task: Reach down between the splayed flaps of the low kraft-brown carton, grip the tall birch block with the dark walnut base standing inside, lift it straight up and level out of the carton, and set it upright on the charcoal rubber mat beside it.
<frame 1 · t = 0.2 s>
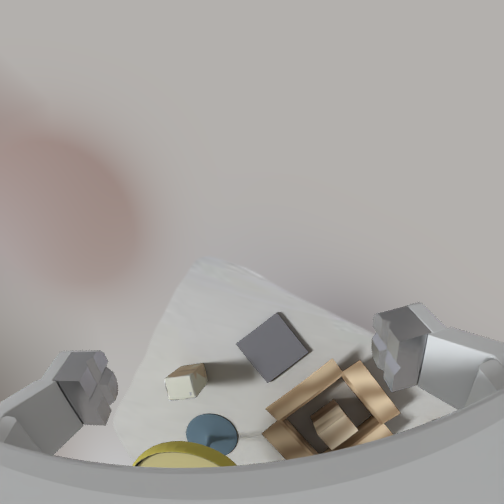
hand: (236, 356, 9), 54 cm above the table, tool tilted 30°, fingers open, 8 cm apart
box: (194, 374, 60), on the table
mat: (272, 347, 61), on the table
block: (332, 423, 53), in the carton
cocktail glass: (211, 435, 58), on the table
carton: (328, 415, 58), on the table
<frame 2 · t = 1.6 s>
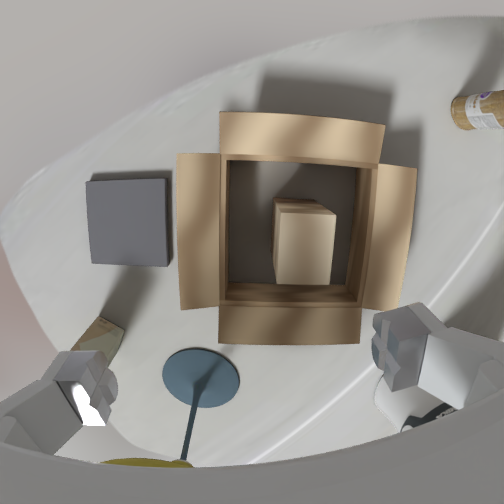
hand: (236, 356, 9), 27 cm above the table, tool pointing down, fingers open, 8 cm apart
box: (107, 335, 40), on the table
mat: (127, 221, 35), on the table
block: (298, 235, 31), in the carton
cocktail glass: (200, 379, 42), on the table
carton: (292, 225, 35), on the table
sprinkles bottle: (461, 114, 31), on the table
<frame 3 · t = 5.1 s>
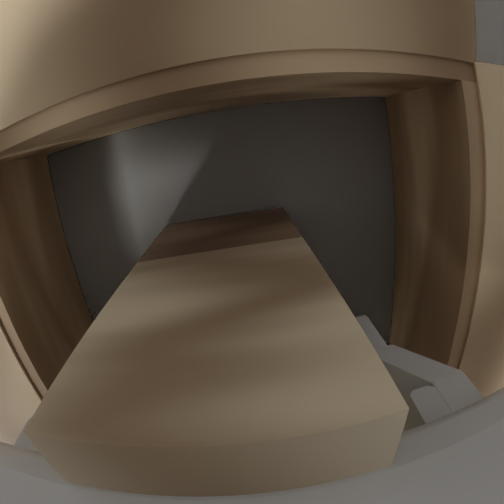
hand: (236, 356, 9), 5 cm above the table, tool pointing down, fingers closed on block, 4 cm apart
block: (236, 364, 8), in the carton, touching gripper
carton: (236, 287, 13), on the table
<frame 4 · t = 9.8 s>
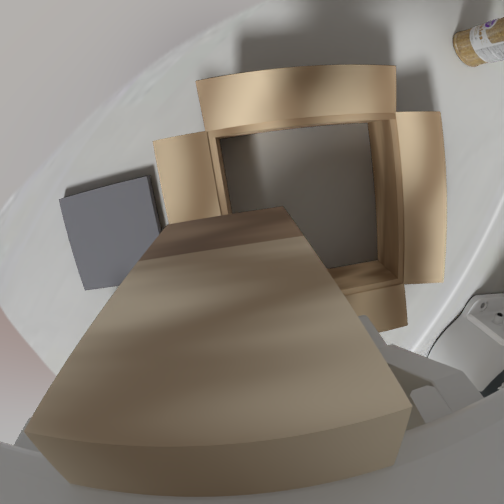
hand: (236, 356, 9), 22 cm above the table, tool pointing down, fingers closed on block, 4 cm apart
mat: (114, 235, 30), on the table
block: (237, 363, 8), point 22 cm above the table, touching gripper
carton: (306, 202, 29), on the table
sprinkles bottle: (465, 50, 24), on the table
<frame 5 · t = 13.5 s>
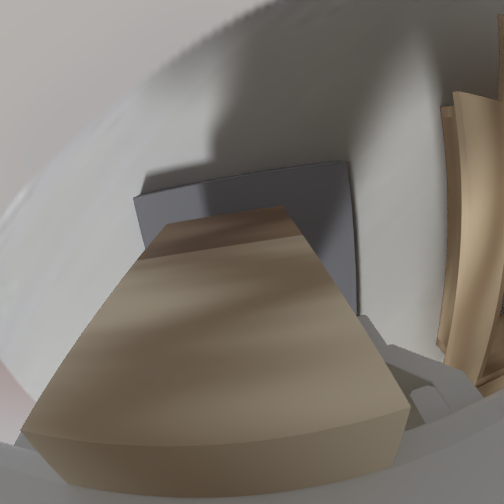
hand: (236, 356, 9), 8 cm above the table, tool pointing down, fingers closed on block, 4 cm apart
mat: (255, 272, 16), on the table
block: (236, 363, 8), point 8 cm above the table, touching gripper
when the fingers open (8 cm above the table, at t = 14.4 s): block drops 2 cm, resting on mat.
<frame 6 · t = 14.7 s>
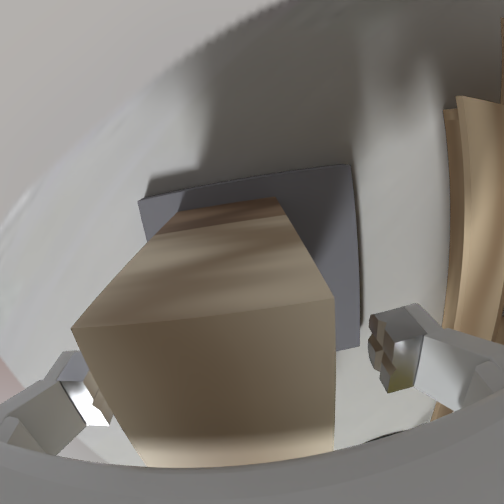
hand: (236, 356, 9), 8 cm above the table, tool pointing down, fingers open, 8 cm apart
mat: (259, 275, 16), on the table
block: (232, 319, 10), on the mat, point 6 cm above the table
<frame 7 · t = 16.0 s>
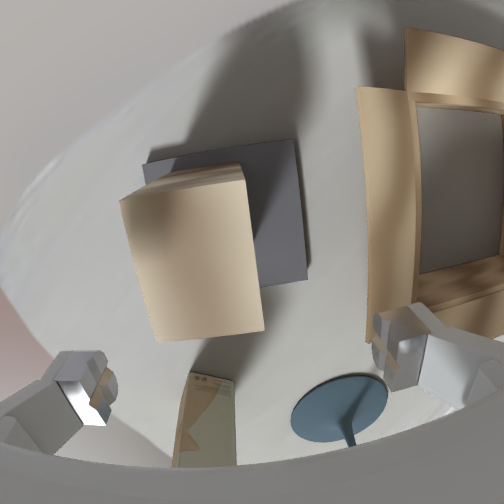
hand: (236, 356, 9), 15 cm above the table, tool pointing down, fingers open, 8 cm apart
box: (206, 392, 28), on the table
mat: (228, 220, 22), on the table
block: (205, 232, 16), on the mat, point 6 cm above the table
cocktail glass: (339, 410, 30), on the table
carton: (455, 191, 22), on the table
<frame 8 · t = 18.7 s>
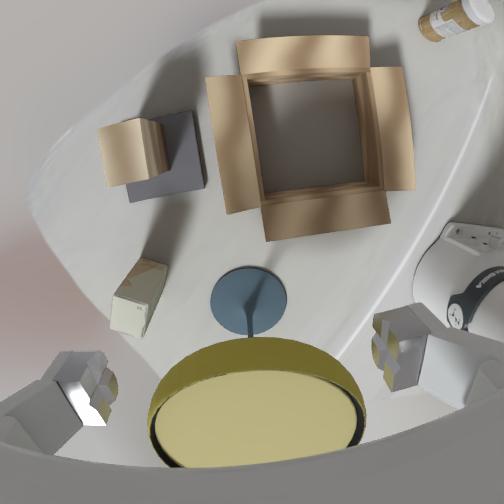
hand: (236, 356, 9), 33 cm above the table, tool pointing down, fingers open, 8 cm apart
box: (151, 276, 44), on the table
mat: (160, 156, 38), on the table
block: (137, 151, 32), on the mat, point 6 cm above the table
cocktail glass: (248, 302, 45), on the table
carton: (308, 133, 38), on the table
sprinkles bottle: (429, 30, 33), on the table
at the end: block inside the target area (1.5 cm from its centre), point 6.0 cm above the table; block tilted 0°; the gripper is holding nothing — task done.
